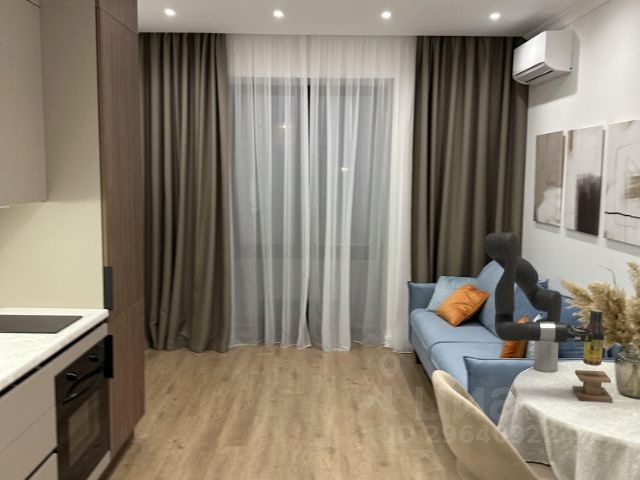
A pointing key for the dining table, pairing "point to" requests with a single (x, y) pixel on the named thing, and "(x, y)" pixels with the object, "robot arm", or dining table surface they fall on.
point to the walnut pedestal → (592, 386)
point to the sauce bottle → (595, 347)
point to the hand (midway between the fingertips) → (601, 334)
